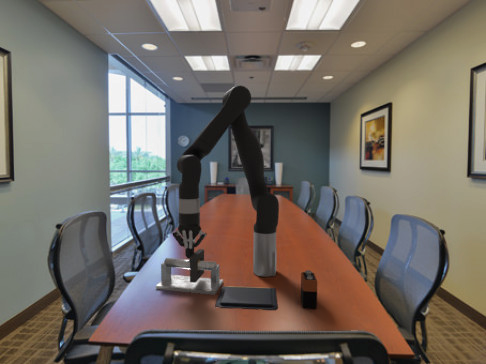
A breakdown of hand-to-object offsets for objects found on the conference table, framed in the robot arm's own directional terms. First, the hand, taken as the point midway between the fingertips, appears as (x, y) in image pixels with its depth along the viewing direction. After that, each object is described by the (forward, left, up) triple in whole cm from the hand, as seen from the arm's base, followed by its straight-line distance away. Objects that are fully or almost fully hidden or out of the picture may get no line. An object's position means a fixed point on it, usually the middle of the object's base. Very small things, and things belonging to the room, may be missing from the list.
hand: (189, 257), depth 100 cm
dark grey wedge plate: (-3, 0, -7) cm, 7 cm away
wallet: (-22, +4, -11) cm, 25 cm away
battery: (-42, +4, -11) cm, 44 cm away
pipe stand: (0, 0, -10) cm, 10 cm away
